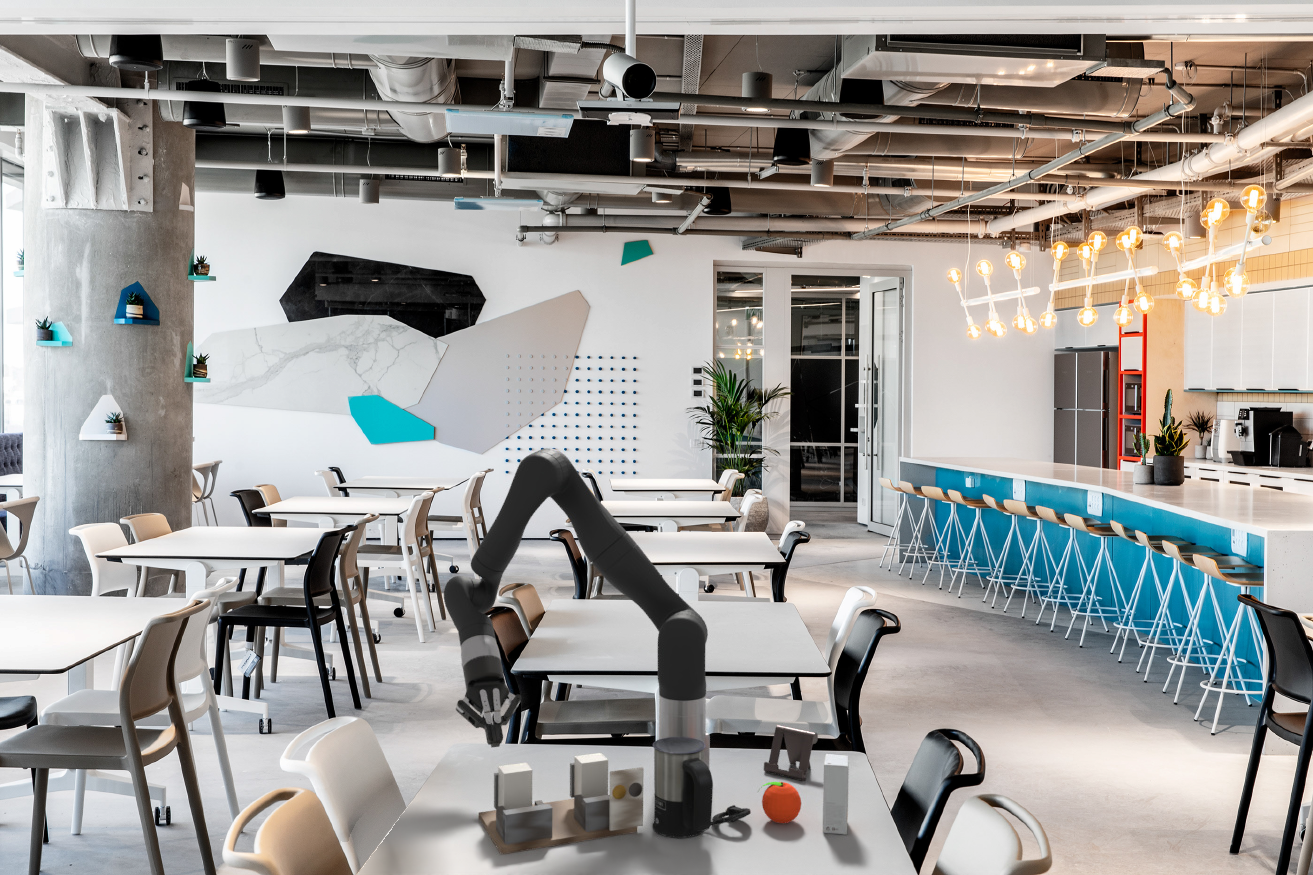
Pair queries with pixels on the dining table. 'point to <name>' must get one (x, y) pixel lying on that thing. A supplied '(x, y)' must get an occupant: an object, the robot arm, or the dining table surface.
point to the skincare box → (835, 794)
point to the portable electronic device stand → (791, 751)
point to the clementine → (781, 802)
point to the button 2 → (589, 776)
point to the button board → (570, 817)
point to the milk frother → (685, 789)
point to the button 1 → (513, 786)
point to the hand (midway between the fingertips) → (496, 744)
